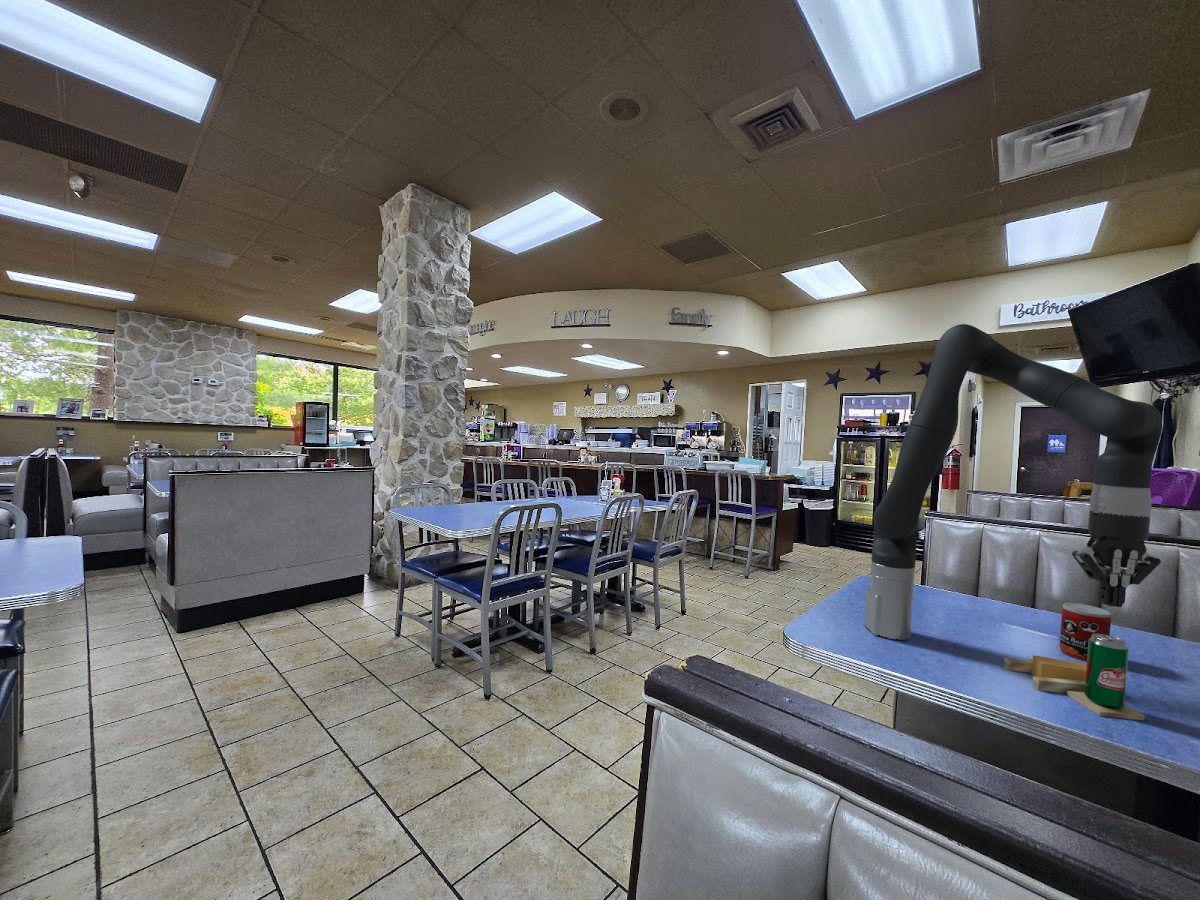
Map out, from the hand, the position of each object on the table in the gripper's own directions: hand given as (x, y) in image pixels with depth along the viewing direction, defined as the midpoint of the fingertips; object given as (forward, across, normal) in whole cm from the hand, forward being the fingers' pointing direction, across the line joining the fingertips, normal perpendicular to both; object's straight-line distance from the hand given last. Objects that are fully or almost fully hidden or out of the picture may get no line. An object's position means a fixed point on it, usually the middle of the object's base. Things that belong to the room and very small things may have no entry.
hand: (1111, 605), depth 88 cm
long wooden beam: (+19, -1, -9) cm, 21 cm away
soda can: (+18, 0, 0) cm, 18 cm away
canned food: (+19, -15, -24) cm, 34 cm away
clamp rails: (+19, +1, -9) cm, 21 cm away
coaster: (+19, 0, 0) cm, 19 cm away
